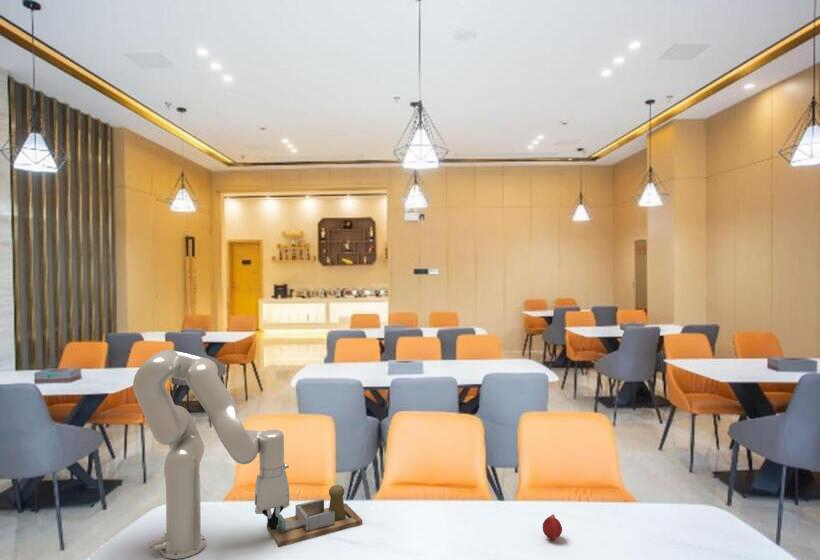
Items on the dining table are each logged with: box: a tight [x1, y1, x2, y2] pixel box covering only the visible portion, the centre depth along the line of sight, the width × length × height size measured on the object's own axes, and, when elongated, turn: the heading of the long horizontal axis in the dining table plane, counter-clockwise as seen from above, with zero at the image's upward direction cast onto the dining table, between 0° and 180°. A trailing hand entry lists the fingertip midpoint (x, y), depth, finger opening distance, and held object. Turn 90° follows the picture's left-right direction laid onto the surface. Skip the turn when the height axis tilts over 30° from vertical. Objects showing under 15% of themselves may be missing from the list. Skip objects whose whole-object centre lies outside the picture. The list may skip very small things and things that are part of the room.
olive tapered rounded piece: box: [328, 484, 347, 522], centre depth 171 cm, size 6×6×11 cm
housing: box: [277, 498, 335, 533], centre depth 165 cm, size 17×11×4 cm, turn 120°
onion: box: [542, 513, 563, 541], centre depth 158 cm, size 6×6×8 cm
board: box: [266, 502, 363, 548], centre depth 167 cm, size 28×14×2 cm, turn 120°
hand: (272, 528), depth 160 cm, fingers closed
